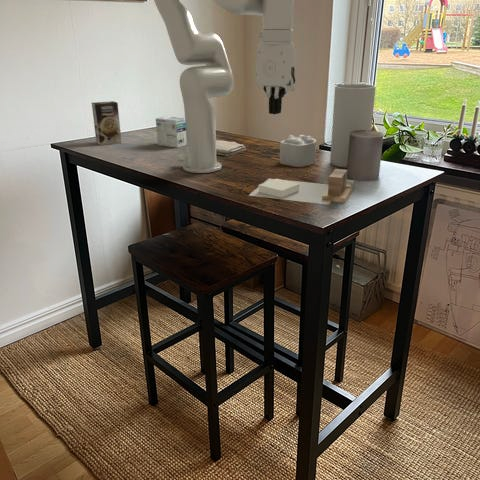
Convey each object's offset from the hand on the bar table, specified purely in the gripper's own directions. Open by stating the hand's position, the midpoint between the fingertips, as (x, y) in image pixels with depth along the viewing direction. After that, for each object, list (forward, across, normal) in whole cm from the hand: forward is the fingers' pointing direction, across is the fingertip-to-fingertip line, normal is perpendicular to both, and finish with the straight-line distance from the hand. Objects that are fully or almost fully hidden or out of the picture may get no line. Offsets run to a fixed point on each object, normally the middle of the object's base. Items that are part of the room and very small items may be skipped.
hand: (274, 113), depth 125 cm
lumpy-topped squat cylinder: (+22, -12, +32) cm, 41 cm away
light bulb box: (+23, -67, +24) cm, 75 cm away
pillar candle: (+22, +14, +27) cm, 37 cm away
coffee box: (+24, -91, +11) cm, 95 cm away
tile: (+20, -1, -1) cm, 20 cm away
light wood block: (+19, +16, +9) cm, 27 cm away
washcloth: (+23, -46, +28) cm, 59 cm away
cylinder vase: (+22, +3, +40) cm, 45 cm away
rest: (+21, +17, +7) cm, 28 cm away
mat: (+21, +6, +3) cm, 22 cm away
